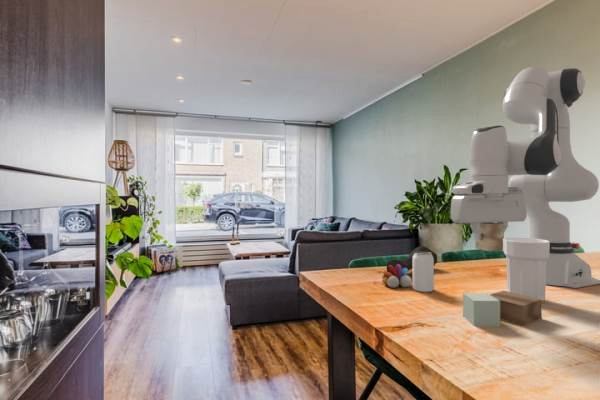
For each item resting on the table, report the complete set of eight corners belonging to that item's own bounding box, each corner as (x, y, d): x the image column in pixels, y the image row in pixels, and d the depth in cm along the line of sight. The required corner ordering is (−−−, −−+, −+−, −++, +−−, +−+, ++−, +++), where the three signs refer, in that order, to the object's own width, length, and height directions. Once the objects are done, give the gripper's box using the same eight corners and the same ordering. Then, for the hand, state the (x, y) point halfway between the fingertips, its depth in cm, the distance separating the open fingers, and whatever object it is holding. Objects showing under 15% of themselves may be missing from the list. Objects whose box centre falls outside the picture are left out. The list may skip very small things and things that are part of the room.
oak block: (490, 247, 90) (490, 222, 90) (503, 250, 85) (502, 223, 85) (475, 248, 89) (475, 222, 89) (487, 251, 85) (487, 223, 85)
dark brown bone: (422, 270, 144) (391, 291, 124) (410, 248, 146) (378, 266, 126) (444, 261, 137) (415, 283, 117) (431, 239, 139) (400, 256, 119)
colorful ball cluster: (378, 282, 117) (378, 262, 117) (405, 281, 118) (405, 261, 117) (387, 289, 108) (386, 267, 108) (415, 288, 109) (415, 266, 109)
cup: (494, 296, 100) (494, 238, 100) (518, 291, 104) (518, 236, 104) (533, 307, 89) (533, 243, 89) (558, 301, 94) (558, 241, 94)
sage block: (487, 317, 83) (487, 293, 83) (500, 326, 77) (500, 301, 77) (462, 316, 83) (462, 293, 83) (473, 325, 78) (473, 300, 77)
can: (435, 293, 103) (435, 255, 103) (414, 292, 104) (413, 254, 104) (431, 287, 110) (431, 251, 109) (411, 286, 111) (411, 251, 111)
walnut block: (503, 308, 89) (503, 290, 89) (541, 319, 82) (541, 299, 82) (484, 315, 85) (484, 296, 85) (522, 327, 77) (522, 305, 77)
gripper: (513, 187, 92) (513, 236, 92) (446, 187, 88) (447, 239, 89) (533, 186, 86) (533, 239, 86) (462, 187, 82) (462, 242, 82)
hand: (489, 239), depth 87 cm, fingers closed on oak block, 4 cm apart
